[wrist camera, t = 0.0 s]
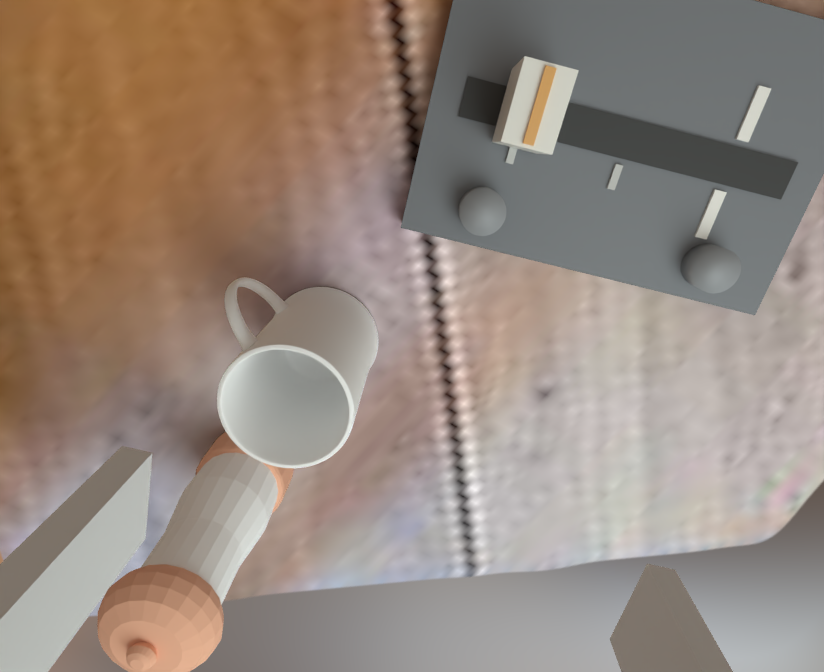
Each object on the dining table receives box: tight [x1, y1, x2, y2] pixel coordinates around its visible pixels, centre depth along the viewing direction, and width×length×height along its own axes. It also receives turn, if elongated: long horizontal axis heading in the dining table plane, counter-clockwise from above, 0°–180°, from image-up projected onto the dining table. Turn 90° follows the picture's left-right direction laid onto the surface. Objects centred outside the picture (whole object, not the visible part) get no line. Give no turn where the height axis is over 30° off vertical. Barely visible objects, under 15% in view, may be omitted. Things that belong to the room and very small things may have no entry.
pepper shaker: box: [98, 431, 294, 672], centre depth 37 cm, size 7×7×19 cm
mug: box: [217, 277, 378, 468], centre depth 36 cm, size 12×8×12 cm
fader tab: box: [492, 56, 579, 155], centre depth 31 cm, size 4×3×5 cm
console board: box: [401, 0, 824, 315], centre depth 34 cm, size 18×26×4 cm
